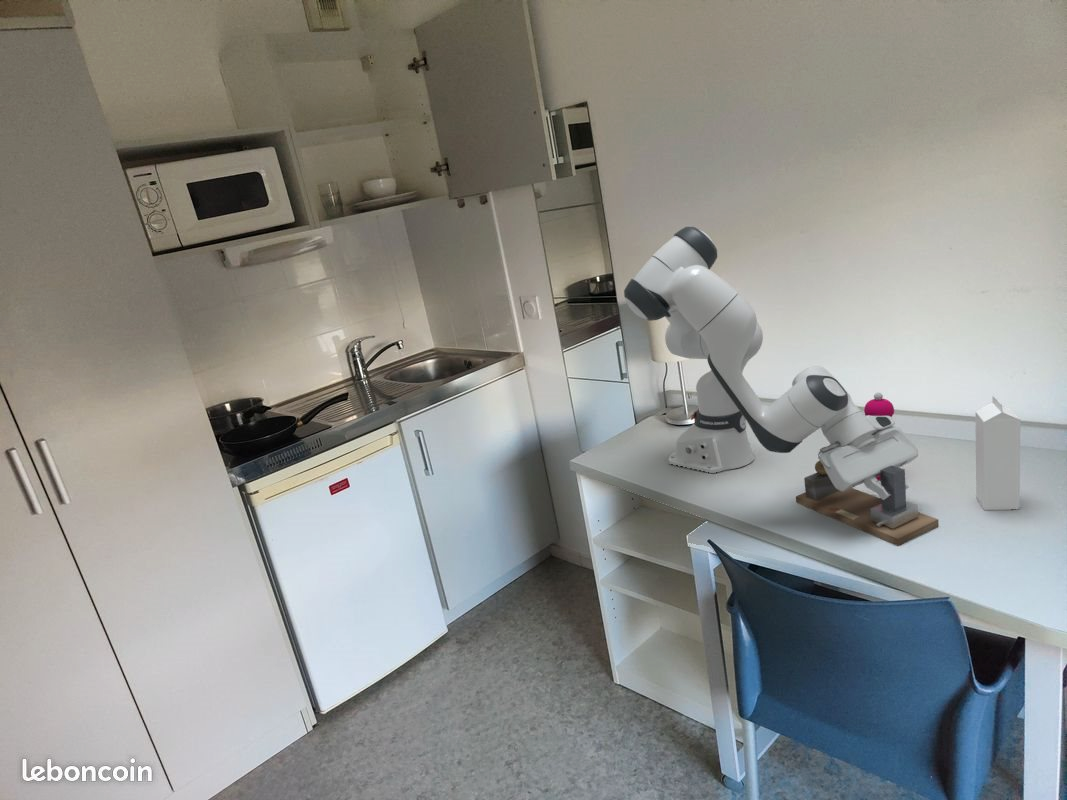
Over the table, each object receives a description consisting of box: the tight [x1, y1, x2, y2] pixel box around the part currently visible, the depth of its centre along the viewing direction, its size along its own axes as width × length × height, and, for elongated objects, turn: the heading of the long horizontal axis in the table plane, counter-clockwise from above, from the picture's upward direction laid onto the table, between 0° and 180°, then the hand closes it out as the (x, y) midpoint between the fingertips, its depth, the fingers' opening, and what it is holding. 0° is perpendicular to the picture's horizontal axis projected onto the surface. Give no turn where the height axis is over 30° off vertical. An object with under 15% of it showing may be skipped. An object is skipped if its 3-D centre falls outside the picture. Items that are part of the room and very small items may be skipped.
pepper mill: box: [863, 392, 895, 481], centre depth 155 cm, size 7×7×20 cm
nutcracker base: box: [795, 460, 939, 547], centre depth 142 cm, size 26×11×9 cm, turn 24°
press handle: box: [871, 466, 919, 529], centre depth 134 cm, size 5×8×10 cm, turn 114°
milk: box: [975, 395, 1021, 511], centre depth 134 cm, size 6×6×22 cm
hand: (896, 493), depth 134 cm, fingers closed on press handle, 3 cm apart
